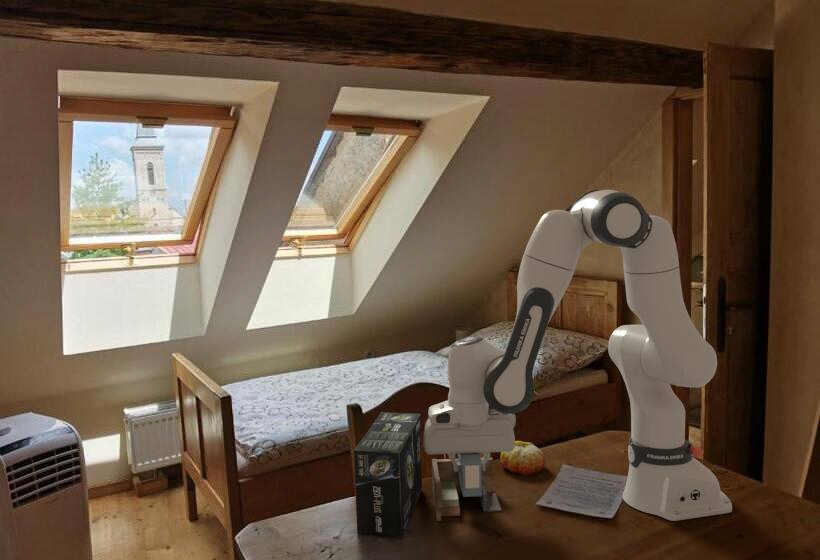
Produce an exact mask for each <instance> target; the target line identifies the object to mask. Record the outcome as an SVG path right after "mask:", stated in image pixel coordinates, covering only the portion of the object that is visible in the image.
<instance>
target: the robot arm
mask: <svg viewBox="0 0 820 560" xmlns="http://www.w3.org/2000/svg"><path fill="white" fill-rule="evenodd" d="M593 242H595V243H597V244H605V245H607V246H611V247H617V248H618V247H619V250H620V253H621V256H622V264H623V275H624V285H625V297H626V302H627V306H628V308H629V309H630V311H631V312H632V313H633V314H634V315H636V317H637V318H638V319H639V320H640V322H641V324H623V325H621V326H618V327H617V328H616V329H615V330H613V332H612V333H611V335H610V337H609V339H608V343H607V351H608V355H609V357H610V359H611V361H612V362H613V363H614V364H615V366H616V367H617V368H618V370H619V372H620V374H621V376H622V379H623V382H624V383H625V387H626V390H627V394H628V398H629V402H630V415H631V416H630V421H631V422H630V424H631V427H630V431H631V434H630V436H629V438H628V441H629V442H628V447H627V448H628V449H627V451H628V454H627V455H628V462H629V465H628V473H627V478H626V483H625V486H624V490H623V493H622V499H623V501H624V502H625V504H627V505H628V506H630V507H632V508H633V509H636V510H637V511H641V512H644V513H647V514H651V515H655V516H658V517H660V518H663V519H665V520H668V521H673V522H675V521H676V522H677V521H682V520H683V521H685V520H690V519H696V518H703V517H709V516H710V517H711V516H716V515H723V514H729V513H732V511H733V503H732V501H731V500H730V498H729V497H728V496H727V495H726V494H725V493H724V492H723V491H721V487H720V483H719V480H718V478H717V477H716V475H715V474H714V472H713V471H711V470H710V469H709V468H708V467H707V466H705V465H704V464H703V463H701V462H700V461H699V460H697V459H696V458H700V457H701V455H703V454H702V453H703V450H702V449H701V448H699V447H698V446H697V445H693V444H692V443H691V442H690V441H689V440H687V439H685V436H686V409H685V406H684V404H683V403H682V401H681V400H680V398H679V397H678V396H677V395H676V394H675V392H674V391H673V389H672V386H671V385H673V386H676V387H684V388H701V387H703V386H705V385H707V384H708V383H709V382H710V381H711V380H712V379H713V378H714V376H715V374H716V372H717V368H718V358H717V353H716V351H715V349H714V347H713V346H712V345H711V344H710V343H709V342H708V341H707V340H706V339H705V338H704V337H703V336H702V335H701V333H700V332H699V330H698V329H697V327H696V326H695V324H694V322H693V320H692V319H691V317H690V315H689V312H688V310H687V308H686V303H685V301H684V296H683V290H682V289H683V288H682V282H681V273H680V261H679V254H678V248H677V242H676V240H675V236H674V233H673V230H672V226H671V224H670V222H668V220H667V219H666V218H664V217H661V216H658V215H653V214H649V213H647V211H646V210H645V208H644V206H643V204H642V202H640V201H639V200H638V199H637V198H636V197H635V196H633V195H631V194H629V193H626V192H621V191H617V190H615V189H602V190H601V189H593V190H590V191H587V192H585V193H583V194H581V195H580V196H579V197H578V198H577V199H576V200H575V201H574V202H573V203H572V204H570V206H568V207H567V208H566V209H565V210H564V209H552V210H548V211H547V212H545V213H544V214H543V215H542V216H541V217H540V219H539V220H538V223H537V224H536V226H535V227H534V229H533V232H532V234H531V236H530V238H529V240H528V242H527V244H526V246H525V247H526V248H525V250H524V253H523V255H522V258H521V262H520V266H519V270H518V275H517V283H516V296H517V298H516V299H517V304H516V305H517V306H516V308H517V309H516V315H515V316H516V317H515V321H514V324H513V326H512V330H511V333H510V336H509V339H508V341H507V345H506V347H505V349H503V348H501V347H498V346H496V345H494V344H493V343H492V344H491V343H490V342H488V341H487V340H486V339H485V338H483V337H480V336H469V337H464V338H461V339H458V340H456V341H455V342H454V343H452V345H451V346H450V347H449V351H448V357H447V381H448V385H449V392H448V394H447V399H446V400H445V401H441V402H439V403H436V404H433V405H431V406H429V407H428V412H427V413H428V418H427V420H426V421H425V424H424V431H423V440H422V442H423V445H422V446H423V451H424V452H425V454H427V455H428V456H429V455H448V459H450V460H451V462H452V463H453V465H454V472H461V464H460V462H456V460H455V459H456V454H457V455H458V453H479V454H480V453H481V454H483V456H482V457H481V458H482V460H481V471H485V464H486V463H487V461H488V460H489V458H491V453H501V452H511V451H513V449H514V448H515V441H516V439H515V438H516V437H515V432H514V431H515V430H514V428H515V426H516V420H517V418H516V417H517V416H516V414H518V413H520V412H523V411H525V409H526V408H528V407H529V406H530V404H531V403H532V401H533V398H534V396H535V395H534V394H535V386H534V385H535V384H534V375H533V373H534V368H535V363H536V360H537V357H538V355H539V351H540V348H541V345H542V342H543V339H544V336H545V333H546V330H547V328H548V325H549V323H550V321H551V318H552V317H553V315H554V314H555V311H556V309H557V308H558V306H559V304H560V302H561V301H562V299H563V297H564V295H565V293H566V291H567V289H568V287H569V285H570V284H571V281H572V279H573V277H574V274H575V271H576V268H577V264H578V263H579V258H580V256H581V255H582V253H583V251H584V250H585V248H586V247H588V246H589V245H590V244H592V243H593ZM489 406H490V407H491V408H492V409H490V408H489ZM693 456H694V457H693ZM695 457H696V458H695Z"/></svg>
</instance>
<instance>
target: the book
mask: <svg viewBox="0 0 820 560" xmlns="http://www.w3.org/2000/svg"><path fill="white" fill-rule="evenodd" d="M481 458H482V457H481V456H480V453H458V454H457V459H458V462H460V464H461V472H458V477H459V481H460V485H461V490H462V497H463V498H470V497H479V496H482V474H481Z"/></svg>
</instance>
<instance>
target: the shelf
mask: <svg viewBox="0 0 820 560" xmlns="http://www.w3.org/2000/svg"><path fill="white" fill-rule="evenodd" d="M480 458H481V460H482V458H483V457H480ZM454 459H455V460H456V462H458V458H454ZM493 462H494V461H493V457H490V458H489V460H488V461H487V463H486V464H485V471H481V474H482V482H483V485H484V488H485V491H486V493H494V474H493V473H494V470H493V469H494V468H493V467H494V465H493V464H494V463H493ZM431 471H432V473H431V475H432V477H431V478H432V480H431V481H432V483H431V484H432V496H433V505H434V509H435V518H436V521H437V522H441V521H442V517H452V516H453V517H457V516H461V507H460V501H459V494H460V495H461V494H462V490H461V485H460V481H459V477H458V472H454V465H453V463H452V462H451V460H450V459H449V458H443V459H442V458H441V459H437V458H431ZM462 495H463V494H462Z"/></svg>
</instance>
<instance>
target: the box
mask: <svg viewBox="0 0 820 560" xmlns="http://www.w3.org/2000/svg"><path fill="white" fill-rule="evenodd" d="M421 420H422V419H421V413H409V412H380V413H379V414H378V416H377V418H376V419H375V421H374V422H373V423H372V425H371V426H370V428H369V429H368V430H367V432H366V433H365V435H364V436H363V437H362V439H361V440H360V441H359V442H358V444H357V446H356V447H355V449H354V450H353V458H354V459H353V460H354V463H353V464H354V484H355V485H354V486H355V505H356V506H355V512H356V513H355V514H356V516H355V517H356V534H357V535H358V536H366V537H367V536H368V537H377V538H378V537H379V538H391V539H392V538H394V539H403V538H404V537H405V533H406V531H407V528H408V526H409V524H410V521H411V519H412V516H413V514H414V511H415V509H416V506H417V503H418V502H419V499H420V495H421V493H422V489H423V472H422V471H423V469H422V466H423V465H422V432H421V431H422V430H421V429H422V428H421V424H422V423H421V422H422V421H421Z"/></svg>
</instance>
